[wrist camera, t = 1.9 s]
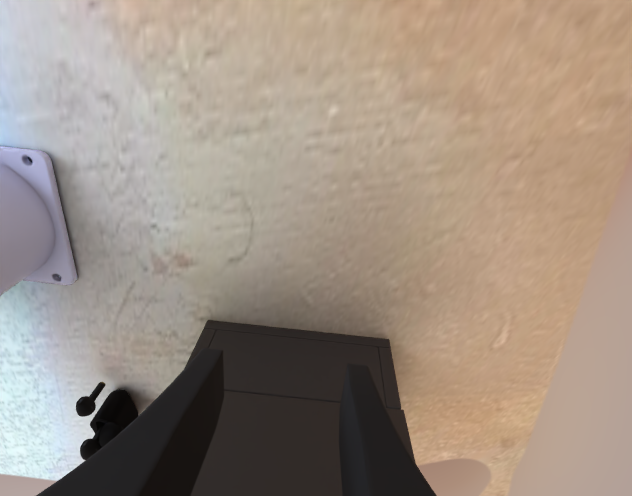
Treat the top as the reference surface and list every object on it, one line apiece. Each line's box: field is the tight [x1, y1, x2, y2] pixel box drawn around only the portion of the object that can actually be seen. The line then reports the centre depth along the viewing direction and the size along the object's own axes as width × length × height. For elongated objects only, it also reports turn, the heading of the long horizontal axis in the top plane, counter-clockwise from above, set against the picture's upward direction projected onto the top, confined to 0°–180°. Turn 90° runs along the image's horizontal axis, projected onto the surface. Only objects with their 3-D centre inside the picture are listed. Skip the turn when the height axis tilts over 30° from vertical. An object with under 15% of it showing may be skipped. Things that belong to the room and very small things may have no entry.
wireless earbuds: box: [76, 382, 138, 460], centre depth 26 cm, size 7×2×5 cm, turn 9°
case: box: [185, 320, 401, 410], centre depth 24 cm, size 10×12×5 cm
